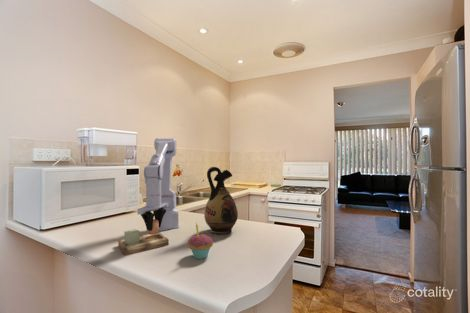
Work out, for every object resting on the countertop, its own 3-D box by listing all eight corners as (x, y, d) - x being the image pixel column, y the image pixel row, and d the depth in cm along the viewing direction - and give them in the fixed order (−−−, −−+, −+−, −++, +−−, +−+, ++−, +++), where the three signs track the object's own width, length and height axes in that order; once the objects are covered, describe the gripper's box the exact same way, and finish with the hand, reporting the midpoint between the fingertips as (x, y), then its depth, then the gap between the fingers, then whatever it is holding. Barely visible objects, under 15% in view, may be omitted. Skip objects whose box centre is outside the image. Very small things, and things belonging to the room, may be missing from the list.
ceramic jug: (229, 224, 118) (229, 165, 118) (243, 233, 104) (242, 166, 104) (197, 229, 110) (196, 166, 111) (207, 239, 96) (206, 167, 97)
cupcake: (201, 263, 74) (201, 225, 74) (182, 257, 78) (182, 222, 78) (217, 254, 81) (217, 219, 81) (199, 249, 86) (199, 216, 86)
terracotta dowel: (153, 231, 95) (153, 218, 95) (160, 232, 93) (160, 219, 94) (145, 233, 92) (145, 221, 92) (153, 235, 90) (153, 222, 90)
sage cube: (134, 241, 91) (134, 228, 91) (139, 244, 88) (139, 230, 88) (124, 244, 88) (124, 231, 88) (129, 247, 85) (129, 233, 85)
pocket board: (159, 237, 99) (159, 232, 99) (168, 244, 90) (168, 239, 90) (118, 245, 90) (118, 240, 90) (124, 255, 81) (124, 248, 81)
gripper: (159, 191, 101) (159, 223, 101) (131, 196, 88) (131, 232, 88) (171, 192, 98) (172, 224, 98) (145, 198, 85) (145, 235, 85)
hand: (153, 228), depth 92 cm, fingers closed on terracotta dowel, 4 cm apart
